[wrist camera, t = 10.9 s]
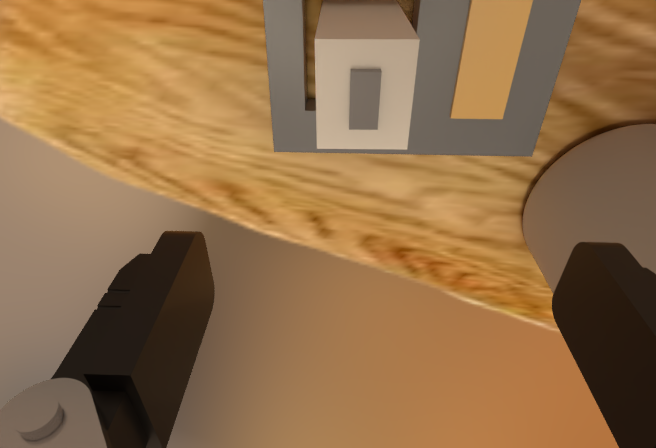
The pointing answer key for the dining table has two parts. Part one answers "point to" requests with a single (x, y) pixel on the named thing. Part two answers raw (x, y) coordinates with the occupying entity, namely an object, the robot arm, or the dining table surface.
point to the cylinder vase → (596, 200)
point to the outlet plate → (441, 75)
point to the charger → (364, 75)
